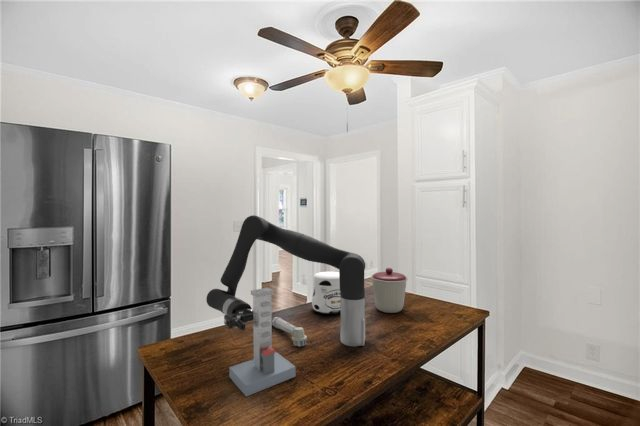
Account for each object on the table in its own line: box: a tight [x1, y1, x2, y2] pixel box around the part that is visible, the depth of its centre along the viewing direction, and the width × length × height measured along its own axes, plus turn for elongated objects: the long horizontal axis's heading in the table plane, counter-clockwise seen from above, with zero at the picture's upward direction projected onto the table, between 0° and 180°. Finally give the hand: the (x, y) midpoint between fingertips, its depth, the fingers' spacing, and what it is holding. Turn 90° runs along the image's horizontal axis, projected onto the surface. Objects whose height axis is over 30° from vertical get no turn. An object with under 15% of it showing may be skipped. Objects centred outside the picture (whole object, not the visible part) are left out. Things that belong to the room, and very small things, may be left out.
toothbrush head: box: [272, 316, 308, 347], centre depth 122 cm, size 5×7×25 cm
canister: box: [370, 267, 409, 314], centre depth 152 cm, size 18×18×21 cm
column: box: [250, 287, 275, 372], centre depth 91 cm, size 6×5×23 cm
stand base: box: [228, 347, 297, 397], centre depth 92 cm, size 16×12×10 cm
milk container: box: [311, 271, 341, 315], centre depth 150 cm, size 17×17×18 cm
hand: (257, 324), depth 95 cm, fingers open, 8 cm apart
